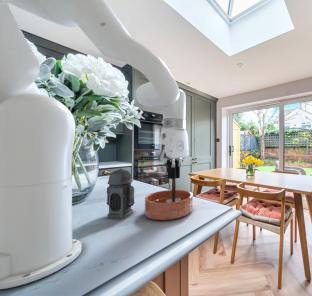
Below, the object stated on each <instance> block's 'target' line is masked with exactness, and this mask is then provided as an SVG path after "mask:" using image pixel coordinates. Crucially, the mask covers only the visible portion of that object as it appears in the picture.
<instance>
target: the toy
mask: <svg viewBox="0 0 312 296" xmlns="http://www.w3.org/2000/svg"><path fill="white" fill-rule="evenodd" d="M133 182H134V180H133V178H132V173H131V172H130V171H129V170H127V169H123V168H119V169H116V170H114V171H112V172H111V173H110V174H109V176H108V180H107V185H108V186H107V188H106V205H107V206H108V213H107V218H108V219H120V220H121V219H126V218H128V217H130V216H131V215H132V214H133V212H134V209H132V207H133V206H134V204H135V187H134V186H133V185H132V183H133Z"/></svg>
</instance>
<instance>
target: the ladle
mask: <svg viewBox="0 0 312 296" xmlns="http://www.w3.org/2000/svg"><path fill="white" fill-rule="evenodd" d="M175 168H176V163H175ZM176 180H177V178H176V179H171V190H172V198H170V199H167V200H166V203H170V202H177V201H181V199H180V198H175V192H176V190H177V189H176V188H177V187H176V186H177V185H176V182H177V181H176Z"/></svg>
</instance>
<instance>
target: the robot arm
mask: <svg viewBox="0 0 312 296" xmlns="http://www.w3.org/2000/svg"><path fill="white" fill-rule="evenodd" d="M9 5H11V6H13V7H17V8H19V9H20V10H22V11H26V12H28V13H30V14H32V15H35V16H37V17H38V18H42V19H43V20H47V21H49V22H52V23H54V24H58V25H60V26H63V27H67V28H77V27H78V28H79V29H80V30H81V31H82V32H83V34H84V35H85V36H86V37H87V38H88V39H89V41H90V42H91V43H92V44H93V45H94V46H95V47H96V48H97V50H98V51H99V53H100V54H101V55H102V56H104V57H105V58H108V59H111V60H114V61H117V62H121V63H124V64H127V65H129V66H131V67H133V68H135V69H136V70H138V71H139V73H141V74H142V75H143V76H145V78H146V79H147V80H148V82H146V83H143V84H140V85H139V86H138V87H137V88H136V90H135V98H136V100H137V102H138V103H139V105H141V106H143V107H145V108H149V109H158V110H159V109H160V110H162V120H161V122H160V123H161V125H162V128H161V130H160V135H159V148H158V149H159V154H158V155H159V157H160V158H159V162H160V163H163V164H164V165H165V167H166V168H167V179H169V180H172V179H176V180H177V179H180V178H181V167H182V164H183V162H185V161H186V160H187V158H188V157H189V137H188V132H187V131H188V130H186V111H187V110H186V109H187V107H186V105H187V104H186V103H187V100H186V99H187V97H186V92H185V91H184V90H182V89H181V88H179V85H178V83H177V80H176V79H175V77H174V75H173V74H172V72H171V71H170V69H169V68H168V66H167V65H166V63H165V62H164V61H163V60H162V59H161V58H160V57H159V56H158V55H157V54H155V53H154V52H153V51H151V49H149V48H147V47H146V46H145V45H143V44H142V43H140V42H139V41H137V40H135V39H134V37H132V35H131V34H130V32H128V30H127V29H126V27H125V26H124V24H123V22H121V20H120V19H119V17H118V16H117V14H116V13H115V11H114V10H113V8H112V7H111V6H110V4H109V2H108V1H107V0H0V290H5V289H11V288H15V287H19V286H22V285H23V286H24V285H26V284H29V283H33V282H36V281H38V280H40V279H43V278H46V277H47V276H50V275H52V274H54V273H56V272H58V271H60V270H61V269H63V268H64V267H66V266H68V265H69V264H71V263H72V262H73V261H74V260H76V259H77V258H78V257H79V256H80V254H81V252H82V250H83V243H82V241H80V240H78V239H76V238H75V239H74V238H73V152H74V144H75V138H76V136H75V135H76V122H75V118H74V115H73V113H72V112H71V111H70V109H69V108H68V107H67V106H66V105H65V104H63V103H62V102H61V101H59V100H57V99H55V98H53V97H51V96H47V95H44V94H42V93H41V91H40V89H39V88H38V87H39V86H38V85H37V84H36V80H37V79H38V78H39V76H40V73H41V65H40V61H39V60H38V58H37V56H36V54H35V53H34V51H33V49H32V47H31V46H30V44H29V42H28V40H27V39H26V36H25V34H24V33H23V31H22V29H21V27H20V25H19V24H18V21H17V20H16V18H15V16H14V14H13V13H12V11H11V9H10V7H9ZM175 163H176V168H175Z"/></svg>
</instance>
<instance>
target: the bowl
mask: <svg viewBox="0 0 312 296" xmlns="http://www.w3.org/2000/svg"><path fill="white" fill-rule="evenodd" d="M193 197H194V196H193V193H192V192H191V191H188V190H184V189H176V192H175V198H180V199H181V201H177V202H170V203H166V200H167V199H170V198H172V189H166V190H160V191H155V192H152V193H150V194H147V195H146V196H145V197H144V215H145V217H146V218H148V219H151V220H155V221H167V220H174V219H179V218H182V217H185V216H187V215H188V214H190V213H192V211H193V201H194V200H193V199H194V198H193Z"/></svg>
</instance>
